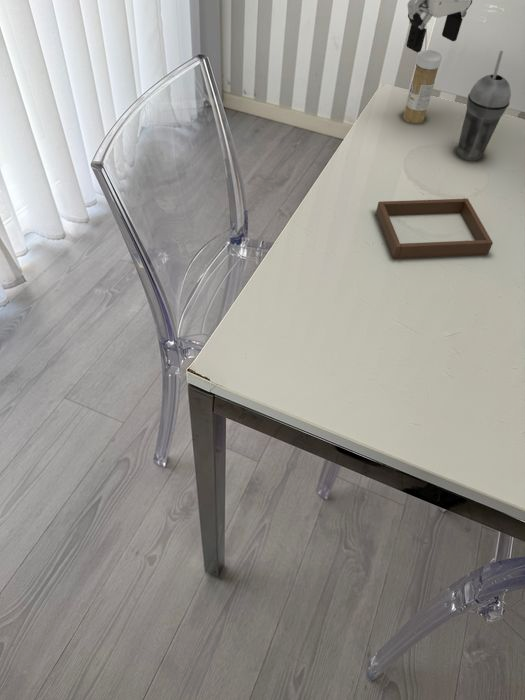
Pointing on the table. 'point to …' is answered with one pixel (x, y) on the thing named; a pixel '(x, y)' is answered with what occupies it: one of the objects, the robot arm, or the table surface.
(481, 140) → the beverage cup
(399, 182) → the table surface
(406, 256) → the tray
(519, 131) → the table surface
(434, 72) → the sprinkles bottle
